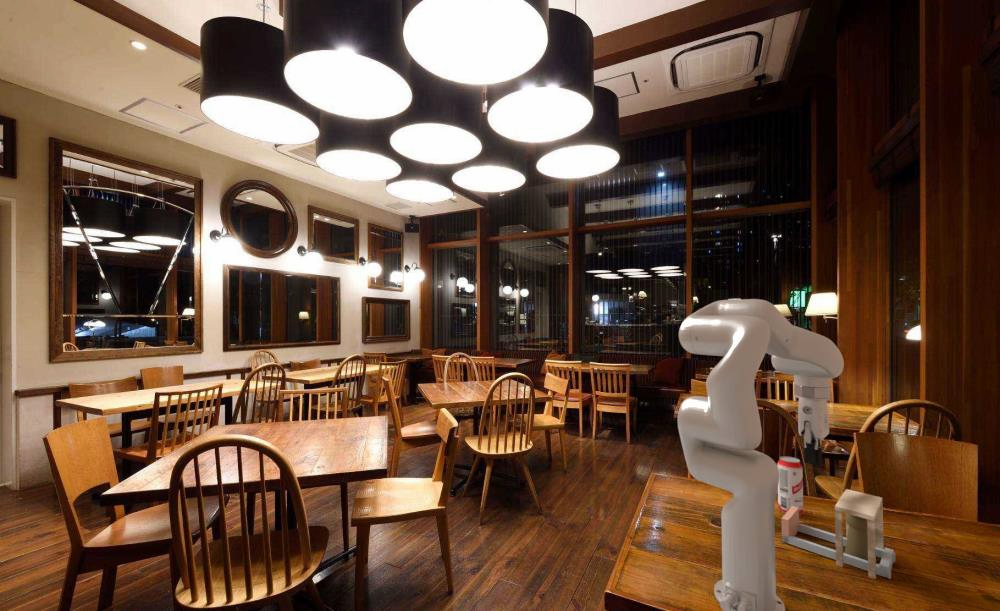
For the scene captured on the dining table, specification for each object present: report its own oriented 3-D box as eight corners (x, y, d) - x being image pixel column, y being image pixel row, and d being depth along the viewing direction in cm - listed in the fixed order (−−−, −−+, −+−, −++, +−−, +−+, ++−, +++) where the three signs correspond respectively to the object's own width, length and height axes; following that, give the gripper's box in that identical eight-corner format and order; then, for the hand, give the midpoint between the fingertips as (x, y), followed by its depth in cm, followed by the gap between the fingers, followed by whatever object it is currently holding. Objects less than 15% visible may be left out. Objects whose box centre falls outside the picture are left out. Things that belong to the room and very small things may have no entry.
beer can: (773, 510, 126) (772, 457, 127) (786, 506, 129) (785, 454, 129) (795, 519, 120) (794, 464, 121) (808, 514, 123) (807, 460, 123)
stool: (883, 554, 103) (882, 497, 103) (875, 579, 93) (874, 516, 93) (847, 542, 108) (846, 488, 108) (836, 565, 98) (834, 505, 99)
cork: (883, 568, 97) (882, 521, 97) (854, 565, 98) (852, 519, 98) (866, 554, 103) (865, 509, 103) (838, 551, 104) (837, 507, 104)
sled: (895, 560, 100) (894, 535, 100) (890, 578, 93) (889, 551, 93) (792, 527, 115) (792, 505, 115) (781, 541, 108) (781, 518, 108)
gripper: (822, 398, 100) (824, 475, 100) (836, 390, 111) (837, 459, 110) (786, 394, 106) (787, 466, 105) (802, 387, 116) (803, 452, 116)
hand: (813, 462), depth 108 cm, fingers closed
